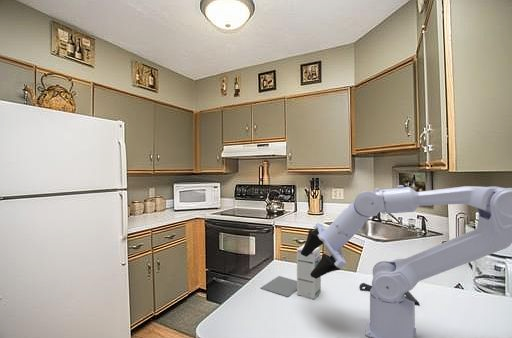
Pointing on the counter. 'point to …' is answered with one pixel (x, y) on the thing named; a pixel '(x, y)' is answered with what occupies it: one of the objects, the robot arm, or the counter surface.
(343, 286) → the counter surface
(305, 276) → the syrup box
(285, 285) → the mat
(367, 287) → the bracket
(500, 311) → the counter surface
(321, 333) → the counter surface
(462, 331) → the counter surface
